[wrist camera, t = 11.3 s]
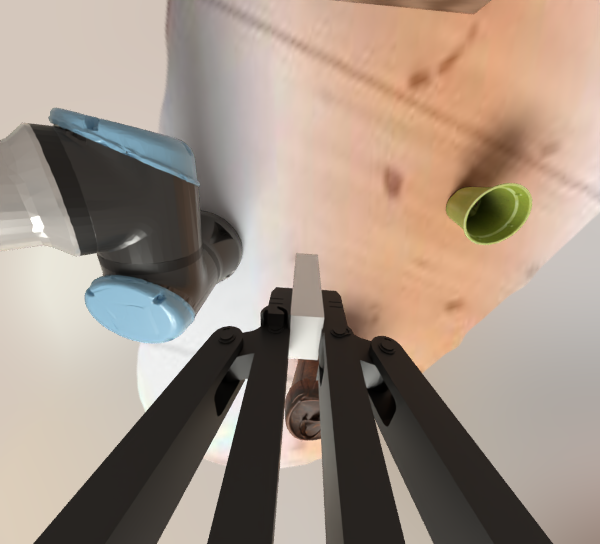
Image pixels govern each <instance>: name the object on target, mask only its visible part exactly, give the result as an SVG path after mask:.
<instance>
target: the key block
mask: <svg viewBox="0 0 600 544" xmlns="http://www.w3.org/2000/svg"><path fill="white" fill-rule="evenodd" d="M336 1H346V2H356V3H366V4H376V5H386V6H396V7H406V8H416V9H426V10H436V11H446V12H456V13H466V14H475V13H476V12H477V11H479V10H480V9H481V8H482V7H484V6H485V5H486V4H487V3H489V2H490V1H491V0H336Z"/></svg>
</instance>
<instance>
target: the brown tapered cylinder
mask: <svg viewBox="0 0 600 544" xmlns="http://www.w3.org/2000/svg"><path fill="white" fill-rule="evenodd" d="M318 366H319V355H318V360H308V359H299V360H298V364H297V368H296V371H295V375H294V379H293V383H292V386H291V388H290V390H289V392H288V394H287V396H286V400H285V421H286V426H287V429H288V430H289V432H290V433H291V434H292V436H294V437H295V438H298V439H300V440H317V439H321V426H320V405H319V384H318V380H316V378H317V372H318Z"/></svg>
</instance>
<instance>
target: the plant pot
mask: <svg viewBox="0 0 600 544" xmlns="http://www.w3.org/2000/svg"><path fill="white" fill-rule="evenodd" d="M477 201H478V204H477V206H475V205H476V202H477ZM531 208H532V197H531V194H530V192H529V191H528V190H527V188H525V187H524V186H522V185H520V184H516V183H505V184H500V185H497V186H494V187H465V188H462V189H460V190H458V191H457V192H456V193H455V194H454V195H453V196H452V197H451V198H450V199H449V200H448V203H447V206H446V212H447V215H448V216H449V218H450V219H452V220H453V221H454V222H455V223H457V224H458V225H459V226H460V227H461V228H462V229H463V230H464V233H465V235H466V237H467V238H468V239H469V240H470V241H472V242H474V243H476V244H480V245H491V244H495V243H499V242H501V241H503V240H505V239H507V238H509V237H510V236H512V235H513V234H515V233H516V232H517V231H518V230H519V229H520V228H521V227H522V225H523V224H524V223H525V222H526V220H527V219H528V217H529V214H530V211H531Z"/></svg>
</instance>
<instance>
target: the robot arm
mask: <svg viewBox="0 0 600 544" xmlns="http://www.w3.org/2000/svg"><path fill="white" fill-rule="evenodd" d="M49 121H50V122H51V123H53V124H54V126H46V125H38V124H29V123H21V124H20V125H19V126H18V127H17V128H16V129H15V130H14V131H13V132H12V133H11V134H10V135H9V136H7V137H6V138H5V139H2V140H0V251H5V250H13V249H19V248H26V247H34V246H42V245H44V246H49V247H53V248H56V249H59V250H61V251H64V252H66V253H68V254H71V255H73V256H81V255H88V254H93V253H97V256H98V259H99V262H100V265H101V268H102V271H103V276H102V277H99V278H97V279H95V280H94V281H93V282H92V284H91V286H90V287H89V288H88V289H87V291H86V293H85V304H86V306H87V308H88V310H89V312H90V313H91V315H92V316H93V317H94V318H95V319H96V320H97V321H98V322H99V323H100V324H101V325H103V326H104V327H105V328H107V329H108V330H110V331H112V332H114V333H116V334H118V335H120V336H122V337H125V338H127V339H131V340H134V341H138V342H143V343H164V342H168V341H171V340H173V339H175V338H177V337H179V336H180V335H181V334H182V333H183V332H184V331H185V330H186V329H187V327H188V326H189V325H190V324H191V323H192V322H193V321H194V318H195V316H196V314H197V313H198V311H199V310H200V308H201V307H202V305H203V304H204V302H205V300H206V299H207V297H208V296H209V294H210V293H211V291H212V290H213V288H214V287H215V285H216V284H218V283H219V282H221V281H223V280H225V279H227V278H228V277H230V276H231V275H232V274H233V273H234V272H235V270H236V269H237V267H238V265H239V264H240V261H241V258H242V245H241V241H240V239H239V236H238V234H237V233H236V231H235V230H234V229H233V227H232V226H231V225H230V224H229V223H228V222H227V221H225V220H224V219H222V218H221V217H219V216H217V215H215V214H213V213H210V212H205V211H200V202H199V188H198V186H200V183H199V181H198V180H197V173H196V165H195V158H194V154H193V152H192V150H191V148H190V147H189V146H188V145H187V144H186V143H184V142H183V141H181V140H179V139H176V138H173V137H169V136H166V135H162V134H158V133H154V132H151V131H147V130H143V129H139V128H136V127H132V126H128V125H124V124H120V123H116V122H112V121H108V120H104V119H99V118H96V117H92V116H87V115H84V114H80V113H77V112H72V111H68V110H64V109H60V108H53V109H52V110H51V111H50V116H49ZM318 355H319V366H318V372H317V378H316V380H318V384H319V405H320V426H321V446H322V465H323V466H322V467H323V487H324V506H325V527H326V528H325V529H326V544H405V540H404V536H403V532H402V529H401V524H400V520H399V516H398V512H397V509H396V504H395V500H394V496H393V492H392V488H391V484H390V480H389V476H388V472H387V468H386V464H385V460H384V456H383V452H382V448H381V444H380V440H379V436H378V431H377V427H376V423H375V420H376V422H377V424H378V427H379V429H380V431H381V433H382V435H383V437H384V440H385V441H386V443H387V446H388V448H389V450H390V452H391V454H392V456H393V459H394V461H395V463H396V465H397V467H398V469H399V471H400V473H401V476H402V477H403V479H404V482H405V484H406V486H407V488H408V490H409V492H410V495H411V497H412V499H413V501H414V503H415V505H416V507H417V509H418V511H419V514H420V516H421V518H422V520H423V522H424V524H425V526H426V528H427V531H428V533H429V535H430V536H431V539H432V541H433V543H434V544H553V543H552V542H551V541H550V539H549V538H548V537H547V535H546V534H545V533H544V531H543V530H542V529H541V527H540V526H539V525H538V524H537V522H536V521H535V520H534V518H533V517H532V516H531V514H530V513H529V512H528V511H527V509H526V508H525V507H524V505H523V504H522V503H521V501H520V500H519V499H518V498H517V496H516V495H515V494H514V492H513V491H512V490H511V488H510V487H509V486H508V485H507V483H506V482H505V481H504V479H503V478H502V477H501V476H500V474H499V473H498V472H497V470H496V469H495V468H494V466H493V465H492V464H491V462H490V461H489V460H488V459H487V457H486V456H485V455H484V453H483V452H482V451H481V450H480V448H479V447H478V446H477V444H476V443H475V442H474V440H473V439H472V438H471V436H470V435H469V434H468V433H467V431H466V430H465V429H464V427H463V426H462V425H461V423H460V422H459V421H458V420H457V418H456V417H455V416H454V414H453V413H452V412H451V410H450V409H449V408H448V407H447V405H446V404H445V403H444V401H443V400H442V399H441V397H440V396H439V395H438V394H437V392H436V391H435V390H434V388H433V387H432V386H431V384H430V383H429V382H428V381H427V379H426V378H425V377H424V375H423V374H422V373H421V371H420V370H419V369H418V367H417V366H416V365H415V364H414V362H413V361H412V360H411V358H410V357H409V356H408V354H407V353H406V352H405V351H404V349H403V348H402V347H401V345H400V344H399V343H397V342H396V341H395V340H393V339H391V338H389V337H386V336H378V337H374V339H373V340H372V341H368V340H365V339H362V338H360V337H357V336H356V335H354V334H353V332H352V330H351V329H350V328H349V327H348V326H347V322H346V318H345V313H344V309H343V305H342V300H341V296H340V295H339V294H338V293H337V292H336V291H329V290H321V281H320V271H319V262H318V255H313V254H299V253H296V260H295V271H294V281H293V288H279V287H276V288H275V289H274V290H273V291H272V292H271V297H270V301H269V305H268V306H266V307H265V308H264V309H262V311H261V327H259V328H258V329H256V330H254V331H250V332H244V333H242V331H241V330H240V329H239V328H236V327H232V326H227V327H222V328H220V329H218V330H216V331H215V332H214V333H213V334H212V335H211V336H210V337H209V339H208V340H207V341H206V342H205V343H204V344H203V346H202V347H201V348H200V349H199V350H198V351H197V353H196V354H195V355H194V356H193V357H192V358H191V360H190V361H189V362H188V363H187V364H186V366H185V367H184V368H183V369H182V370H181V371H180V373H179V374H178V375H177V376H176V377H175V378H174V380H173V381H172V382H171V383H170V384H169V385H168V387H167V388H166V389H165V390H164V391H163V392H162V394H161V395H160V396H159V397H158V398H157V399H156V401H155V402H154V403H153V404H152V405H151V406H150V408H149V409H148V410H147V411H146V412H145V414H144V415H143V416H142V417H141V418H140V419H139V421H138V422H137V423H136V424H135V425H134V426H133V428H132V429H131V430H130V431H129V432H128V433H127V435H126V436H125V437H124V438H123V439H122V441H121V442H120V443H119V444H118V445H117V447H115V449H114V450H113V451H112V452H111V453H110V455H109V456H108V457H107V458H106V459H105V460H104V462H103V463H102V464H101V465H100V466H99V467H98V469H97V470H96V471H95V472H94V473H93V474H92V476H91V477H90V478H89V479H88V480H87V481H86V483H85V484H84V485H83V486H82V487H81V488H80V490H79V491H78V492H77V493H76V494H75V495H74V497H73V498H72V499H71V500H70V501H69V502H68V504H67V505H66V506H65V507H64V508H63V509H62V511H61V512H60V513H59V514H58V515H57V517H56V518H55V519H54V520H53V521H52V522H51V524H50V525H49V526H48V527H47V528H46V529H45V531H44V532H43V533H42V534H41V536H39V538H38V539H37V540H36V541H35V542H34V544H157V542H158V540H159V538H160V537H161V535H162V533H163V531H164V529H165V527H166V525H167V524H168V522H169V520H170V518H171V516H172V514H173V513H174V511H175V509H176V507H177V505H178V503H179V501H180V500H181V498H182V496H183V494H184V492H185V490H186V488H187V487H188V485H189V483H190V481H191V479H192V477H193V475H194V473H195V472H196V470H197V468H198V466H199V464H200V462H201V460H202V459H203V457H204V455H205V453H206V451H207V450H208V448H209V446H210V444H211V442H212V440H213V438H214V437H215V435H216V433H217V431H218V429H219V427H220V425H221V424H222V422H223V420H224V418H225V416H226V414H227V412H228V411H229V409H230V407H231V405H232V403H233V401H234V400H235V398H236V396H237V394H238V392H239V390H240V388H241V387H242V385H243V383H244V381H245V379H247V378H248V381H247V385H246V389H245V393H244V397H243V401H242V405H241V409H240V413H239V417H238V421H237V425H236V429H235V434H234V438H233V442H232V446H231V450H230V454H229V458H228V462H227V466H226V470H225V474H224V478H223V482H222V486H221V490H220V494H219V498H218V502H217V506H216V510H215V514H214V518H213V522H212V526H211V530H210V534H209V538H208V543H207V544H273V542H274V530H275V517H276V505H277V493H278V481H279V469H280V456H281V444H282V431H283V419H284V407H285V394H286V382H287V370H288V358H293V359H308V360H318ZM374 418H375V419H374Z"/></svg>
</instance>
